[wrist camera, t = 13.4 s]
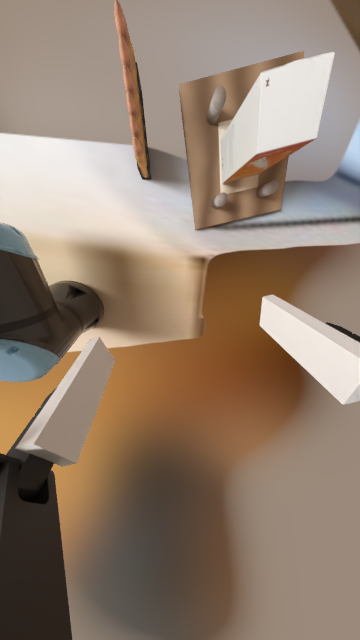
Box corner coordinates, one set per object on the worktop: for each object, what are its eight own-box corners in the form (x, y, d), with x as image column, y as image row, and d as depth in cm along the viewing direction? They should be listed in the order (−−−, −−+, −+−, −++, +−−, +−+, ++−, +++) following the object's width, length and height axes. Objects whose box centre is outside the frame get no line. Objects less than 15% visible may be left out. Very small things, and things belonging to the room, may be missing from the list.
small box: (221, 185, 29) (255, 155, 18) (219, 139, 26) (260, 68, 15) (259, 175, 29) (318, 138, 18) (263, 127, 26) (337, 46, 14)
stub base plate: (195, 229, 34) (200, 228, 30) (179, 92, 24) (182, 57, 19) (276, 210, 34) (294, 206, 29) (296, 60, 23) (329, 17, 18)
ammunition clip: (150, 179, 29) (143, 149, 19) (141, 179, 29) (129, 149, 19) (141, 91, 23) (123, -20, 13) (130, 90, 23) (103, -21, 13)
